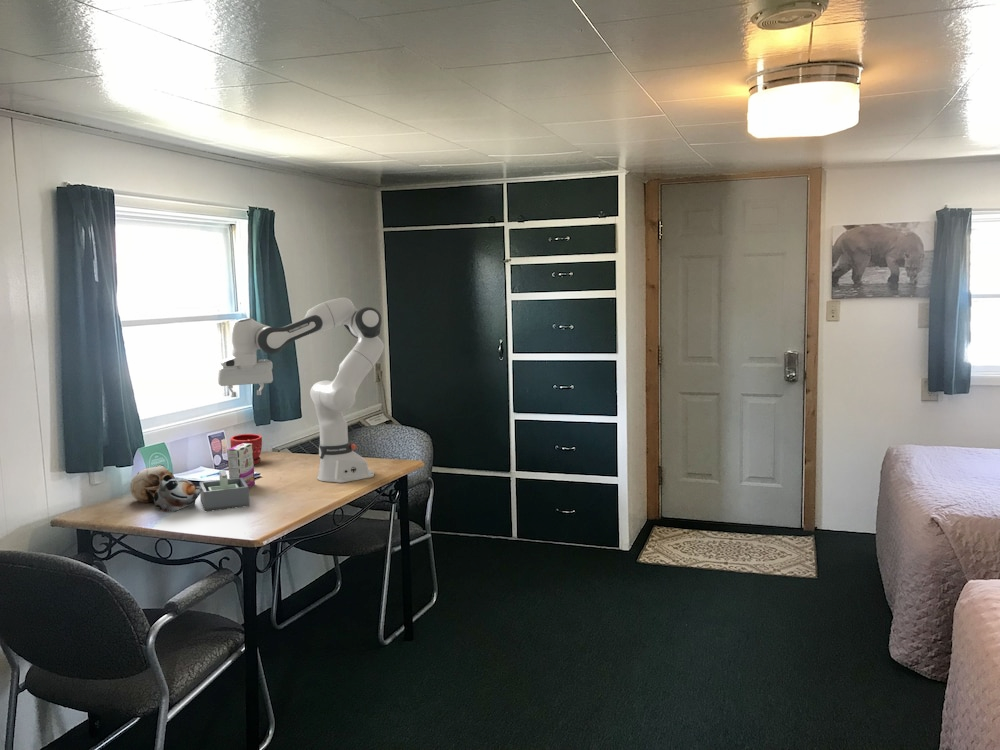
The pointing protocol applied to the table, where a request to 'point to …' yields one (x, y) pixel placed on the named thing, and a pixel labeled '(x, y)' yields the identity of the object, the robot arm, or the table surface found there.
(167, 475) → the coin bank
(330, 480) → the robot arm
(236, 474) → the candy bar box
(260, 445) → the plant pot
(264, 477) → the table surface
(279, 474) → the table surface
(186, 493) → the lucky cat figurine
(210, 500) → the large crate
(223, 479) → the small crate
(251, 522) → the table surface
